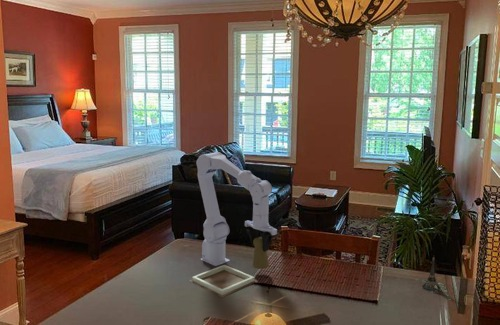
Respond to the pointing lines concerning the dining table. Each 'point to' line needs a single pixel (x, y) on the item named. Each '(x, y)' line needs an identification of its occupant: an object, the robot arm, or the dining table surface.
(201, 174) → the robot arm
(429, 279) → the eiffel tower figurine
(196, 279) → the walled square frame
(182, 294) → the dining table surface
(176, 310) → the dining table surface
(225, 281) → the board
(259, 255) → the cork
